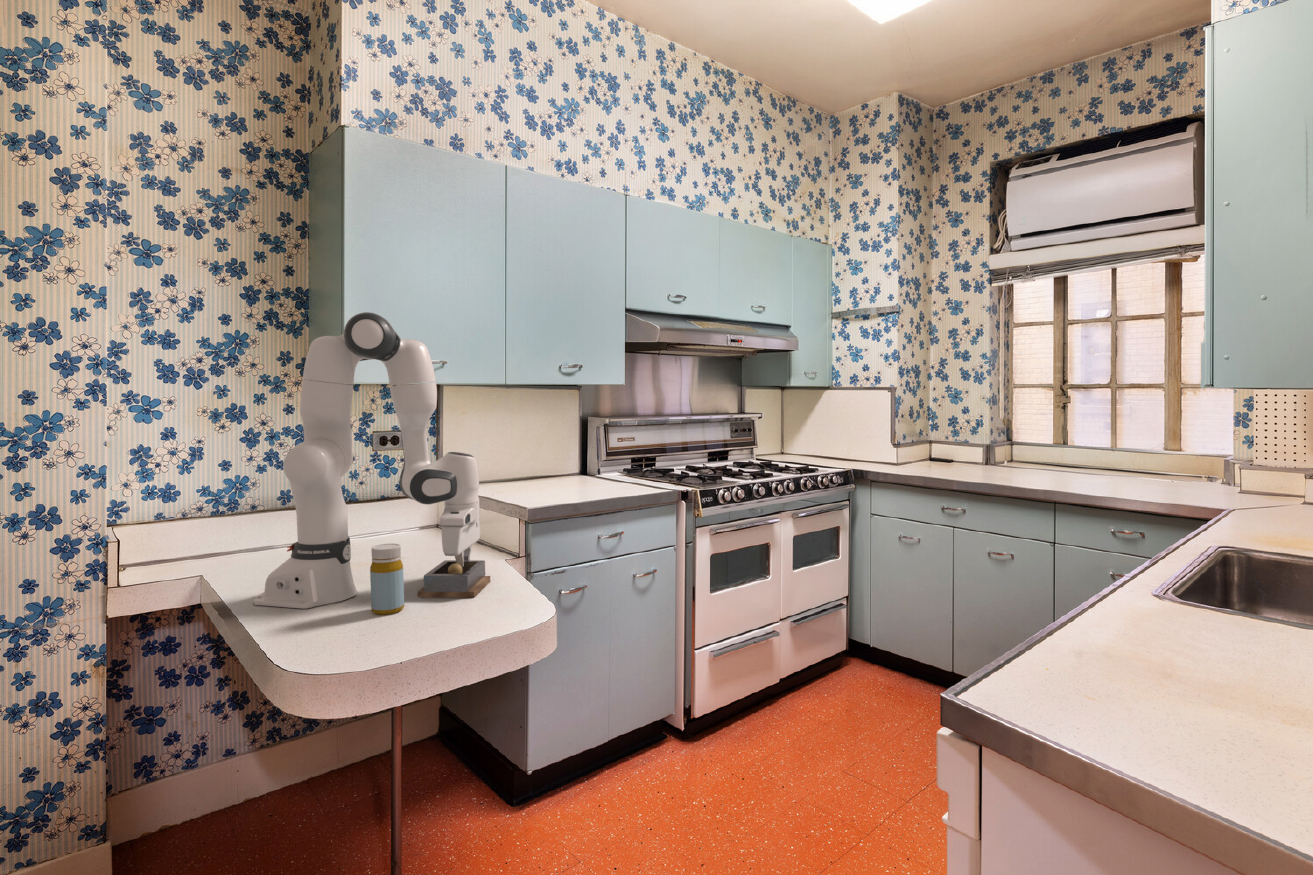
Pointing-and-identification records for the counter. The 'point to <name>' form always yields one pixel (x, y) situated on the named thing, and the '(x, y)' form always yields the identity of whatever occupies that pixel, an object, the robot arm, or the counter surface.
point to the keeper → (470, 594)
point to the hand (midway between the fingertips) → (463, 564)
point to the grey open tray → (454, 577)
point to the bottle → (386, 579)
